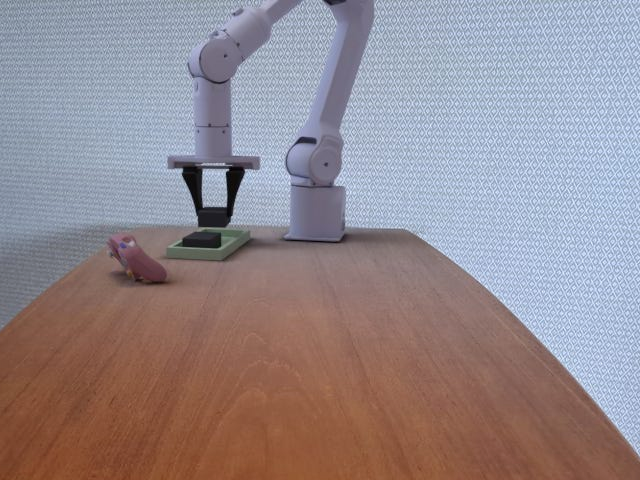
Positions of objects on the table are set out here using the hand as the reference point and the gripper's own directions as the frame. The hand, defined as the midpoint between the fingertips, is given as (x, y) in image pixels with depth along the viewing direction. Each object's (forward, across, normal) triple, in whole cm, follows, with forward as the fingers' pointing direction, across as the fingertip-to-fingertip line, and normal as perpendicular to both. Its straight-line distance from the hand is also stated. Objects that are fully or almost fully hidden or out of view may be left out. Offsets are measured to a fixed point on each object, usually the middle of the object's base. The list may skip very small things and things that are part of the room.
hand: (214, 215), depth 109 cm
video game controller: (+5, +7, +23) cm, 24 cm away
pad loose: (+1, 0, 0) cm, 1 cm away
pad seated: (+4, +1, +7) cm, 8 cm away
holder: (+5, 0, +2) cm, 5 cm away
